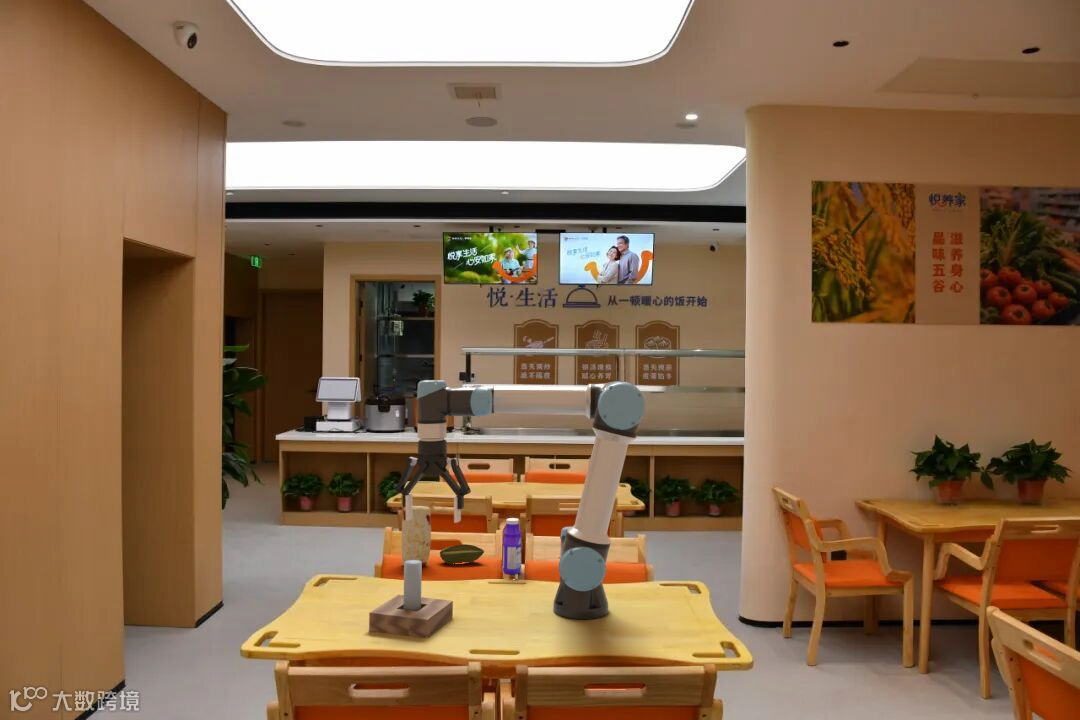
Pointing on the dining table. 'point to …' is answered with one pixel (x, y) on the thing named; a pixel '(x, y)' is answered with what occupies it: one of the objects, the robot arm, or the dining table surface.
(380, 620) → the socket block
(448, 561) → the fruit
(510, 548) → the bottle
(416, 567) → the peg
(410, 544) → the food model
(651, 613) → the dining table surface
